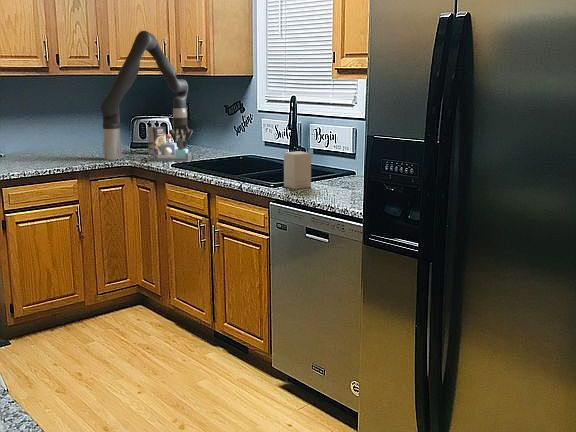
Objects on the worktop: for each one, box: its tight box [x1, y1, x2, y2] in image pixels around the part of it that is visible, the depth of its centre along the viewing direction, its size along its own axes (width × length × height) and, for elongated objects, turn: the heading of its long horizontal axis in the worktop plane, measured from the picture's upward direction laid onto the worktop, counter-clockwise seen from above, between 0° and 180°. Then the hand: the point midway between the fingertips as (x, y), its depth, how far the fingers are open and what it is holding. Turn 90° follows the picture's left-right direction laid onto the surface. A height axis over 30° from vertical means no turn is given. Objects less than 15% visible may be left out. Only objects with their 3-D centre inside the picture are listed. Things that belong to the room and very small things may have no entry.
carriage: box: [175, 137, 189, 158], centre depth 352 cm, size 6×5×10 cm
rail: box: [152, 151, 192, 162], centre depth 354 cm, size 20×6×4 cm, turn 82°
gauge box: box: [160, 142, 178, 155], centre depth 364 cm, size 8×8×8 cm
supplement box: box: [283, 150, 312, 190], centre depth 275 cm, size 9×9×15 cm
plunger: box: [166, 133, 172, 144], centre depth 363 cm, size 3×3×6 cm
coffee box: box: [147, 126, 167, 156], centre depth 378 cm, size 9×6×16 cm
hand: (181, 147), depth 352 cm, fingers closed on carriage, 2 cm apart
